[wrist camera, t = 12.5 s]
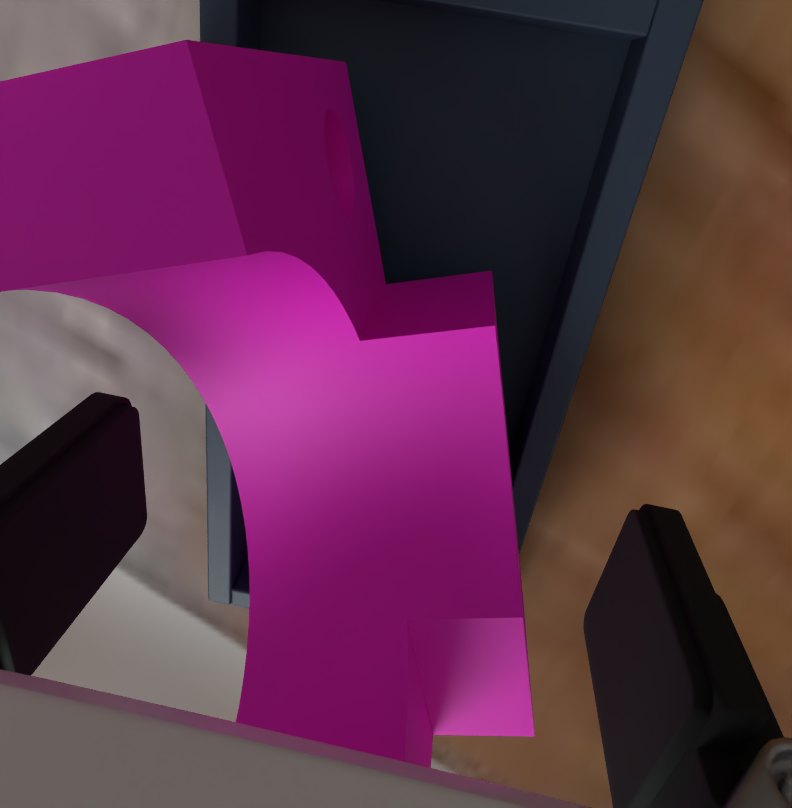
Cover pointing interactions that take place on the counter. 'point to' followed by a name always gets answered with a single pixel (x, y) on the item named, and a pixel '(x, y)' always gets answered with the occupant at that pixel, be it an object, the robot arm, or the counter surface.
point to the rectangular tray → (483, 177)
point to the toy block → (295, 376)
